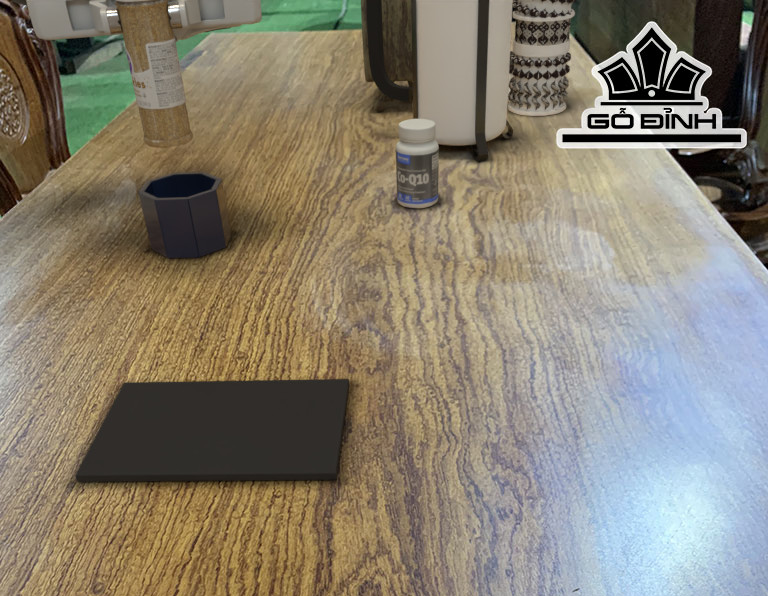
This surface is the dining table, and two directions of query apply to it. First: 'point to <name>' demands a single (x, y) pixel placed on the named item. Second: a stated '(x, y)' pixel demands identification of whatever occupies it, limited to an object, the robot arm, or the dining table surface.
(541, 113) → the decorative candle
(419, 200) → the pill bottle
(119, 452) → the mat
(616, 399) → the dining table surface
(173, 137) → the sprinkles bottle
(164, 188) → the pen cup
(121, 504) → the dining table surface
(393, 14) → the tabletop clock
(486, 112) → the coffee press
